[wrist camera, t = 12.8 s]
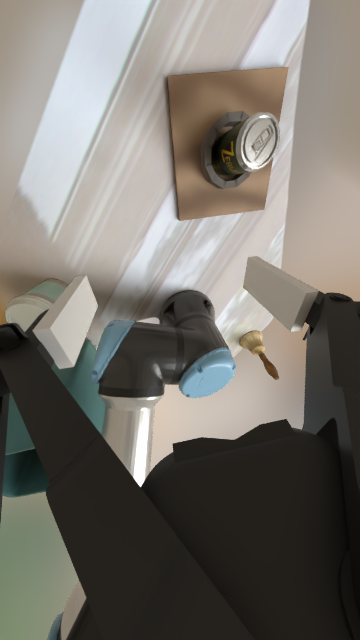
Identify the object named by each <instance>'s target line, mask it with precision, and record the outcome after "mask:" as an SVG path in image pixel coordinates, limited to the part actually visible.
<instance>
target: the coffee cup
mask: <svg viewBox="0 0 360 640" xmlns="http://www.w3.org/2000/svg"><path fill="white" fill-rule="evenodd" d="M67 287H68V286H67V285H66V284H65V283H64V282H62V281H60V280H57V279H48V280H46V281H44V282H42V283H41V284H39V285H38V286H36V287H34V288H33V289H31V290H29V291H28V292H26V293H25V294H23V295H21V296H18V297H15V298H13V299H12V300H11V301H10V302H9V304H8V305H7V307H6V312H5V318H6V321H7V322H8V323H17V324H19V326H20V327H21V328H22V330H23V331H24V332H25V331H26V330H27V329H28V328H29V327H30V325H32V323H33V322H34V321H35V319H36V318H37V317H38V316H39V315H40V314H41V313H43V312H44V311H46V310H47V309H50V308H51V307H52V305H53V304H54V303H55V302H56V300H57V299H58V298H59V297H60V295H61V294H62V293H63V292H64V290H65V289H66V288H67Z"/></svg>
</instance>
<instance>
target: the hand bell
mask: <svg viewBox="0 0 360 640" xmlns="http://www.w3.org/2000/svg"><path fill="white" fill-rule="evenodd" d="M262 339H263V335H262V333H261V332H259V331H252V332H249V333H247V334H246V335H244V336H243V337H242V338H241V340H240V345H241V347H243V348H245V349H248V350H250V351H251V352H252V354H254V355H259V357H260V358H261V360H262V361H263V363H264V366H265V369H266V370H267V372H268V373H269V374H270V375H271V376H272V377H273V378H274V379H275V380H277V379H279V376H278V372H277V370H276V368H275V367H274V365H273V364H272V363H271V362H269V361H268V359H267V358H266V356H265V355H264V353H263V352H264V350H265V347H264V345H263V343H262Z"/></svg>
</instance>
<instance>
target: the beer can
mask: <svg viewBox="0 0 360 640" xmlns="http://www.w3.org/2000/svg"><path fill="white" fill-rule="evenodd" d="M279 140H280V128H279V124H278V121H277V119H276V118H275V116H274V115H272V114H270V113H265V112H258V113H256V114H254V115H251V116H250V117H248V118H247V119H245V120H244V121H242V122H241V123H239V124H238V125H236V126H235V127H233V128H232V129H230V130H229V131H227V132H226V133H224V134H223V135H221V136H220V137H219V138H218V139H217V140H216V142H215V143H214V145H213V148H212V152H211V163H212V166H213V168H214V171H215V172H216V173H217V174H219V175H222V176H227V175H234V174H241V173H248V172H255V171H257V170H259V169H261V168H262V167H264V166H265V165H266V164H267V163H269V162H270V160H271V159H272V158H273V156H274V155H275V152H276V150H277V148H278V144H279Z"/></svg>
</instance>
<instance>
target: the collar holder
mask: <svg viewBox="0 0 360 640" xmlns="http://www.w3.org/2000/svg"><path fill="white" fill-rule="evenodd" d="M287 72H288V67H280V68H266V69H253V70H239V71H226V72H212V73H199V74H185V75H172V76H168V77H167V84H168V96H169V107H170V119H171V131H172V143H173V154H174V166H175V178H176V190H177V201H178V213H179V220H180V221H182V220H189V219H197V218H204V217H212V216H219V215H227V214H234V213H242V212H249V211H256V210H264V208H265V202H266V196H267V190H268V185H269V179H270V173H271V167H272V161H273V158H272V159H271V160H270V162H269V163H267V164H266V165H265V166H264V167H262V168H261V169H259V170H257V171H255V172H248V173H241V174H234V175H227V176H222V175H219V174H217V173H216V172H215V171H214V168H213V166H212V163H211V152H212V148H213V145H214V143H215V142H216V140H217V139H218V138H219V137H220V136H221V135H223V134H224V133H226V132H227V131H229V130H230V129H232V128H233V127H235V126H236V125H238V124H239V123H241V122H242V121H244V120H245V119H247V118H248V117H250V116H251V115H254V114H256V113H258V112H265V113H270V114H272V115H274V116H275V118H276V119H277V121H278V124H279V120H280V114H281V108H282V102H283V96H284V90H285V84H286V78H287Z"/></svg>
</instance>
